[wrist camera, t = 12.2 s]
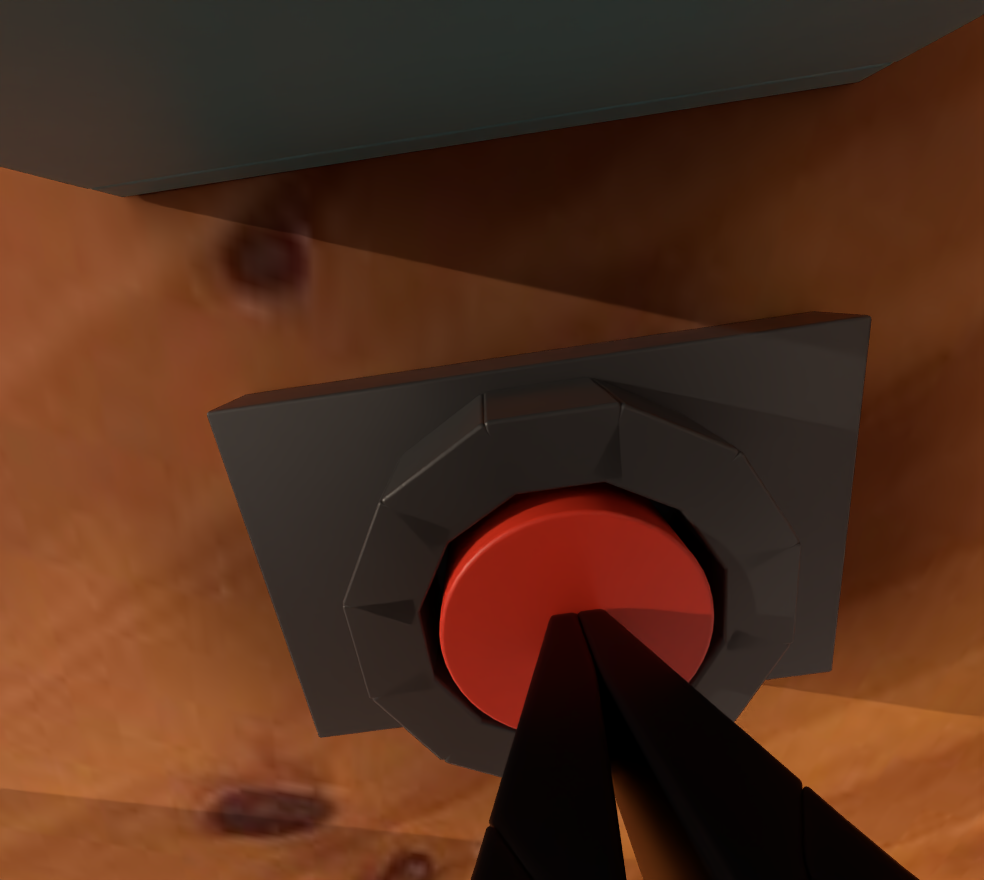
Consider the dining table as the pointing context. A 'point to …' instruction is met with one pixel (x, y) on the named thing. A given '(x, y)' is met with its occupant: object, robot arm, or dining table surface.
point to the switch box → (544, 466)
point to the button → (566, 587)
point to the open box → (397, 74)
